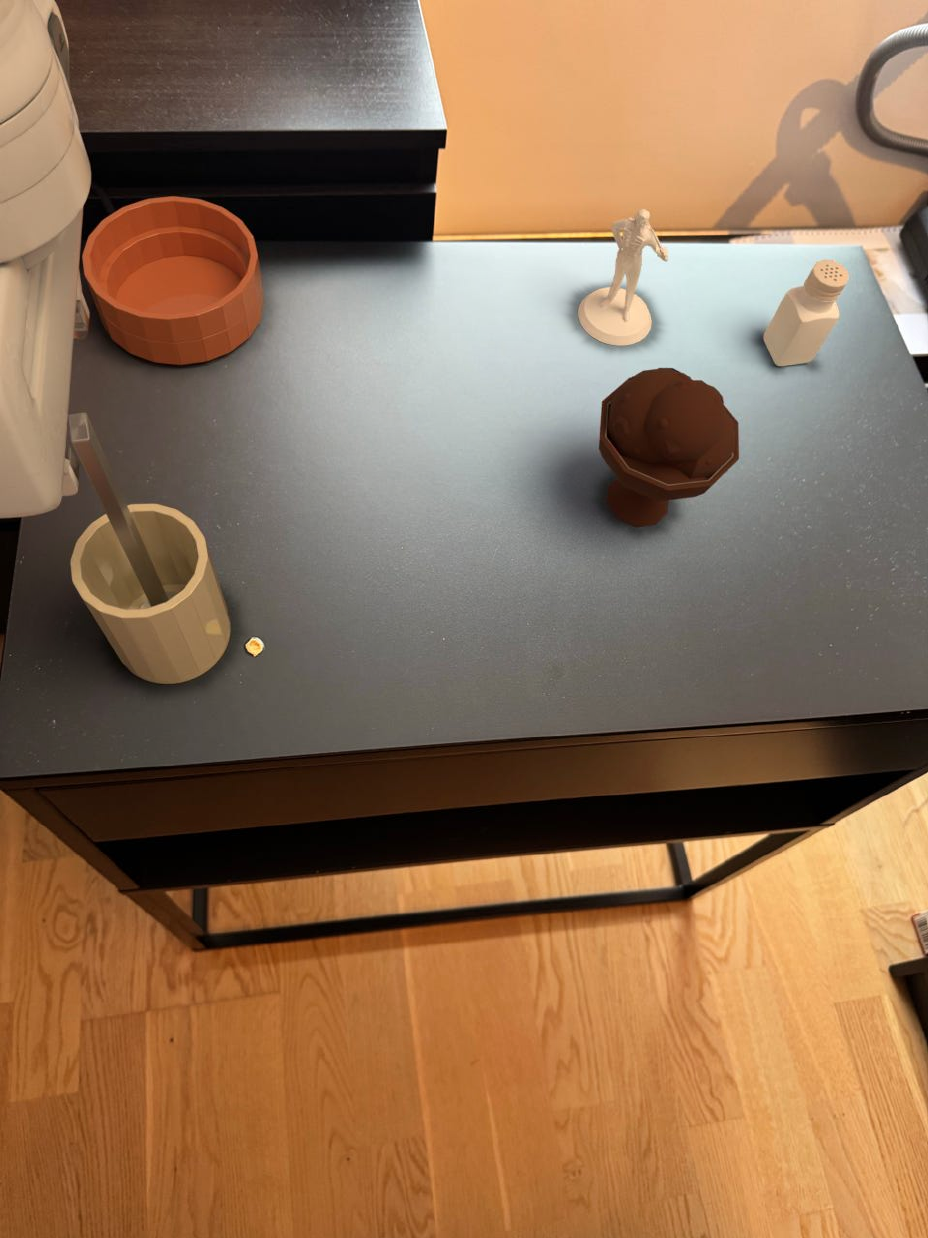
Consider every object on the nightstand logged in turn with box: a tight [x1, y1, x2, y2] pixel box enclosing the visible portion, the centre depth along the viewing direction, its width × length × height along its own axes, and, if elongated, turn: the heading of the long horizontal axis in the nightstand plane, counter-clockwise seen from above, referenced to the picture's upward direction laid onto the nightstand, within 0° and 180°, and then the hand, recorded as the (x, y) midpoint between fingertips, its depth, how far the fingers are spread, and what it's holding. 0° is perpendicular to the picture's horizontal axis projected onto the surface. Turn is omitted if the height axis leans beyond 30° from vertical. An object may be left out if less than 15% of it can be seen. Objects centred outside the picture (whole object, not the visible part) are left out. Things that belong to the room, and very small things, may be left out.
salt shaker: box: [763, 259, 850, 367], centre depth 82 cm, size 4×4×10 cm
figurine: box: [577, 208, 669, 347], centre depth 81 cm, size 7×7×12 cm
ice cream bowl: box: [598, 367, 740, 528], centre depth 70 cm, size 11×11×15 cm
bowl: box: [81, 195, 265, 366], centre depth 79 cm, size 14×14×6 cm
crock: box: [69, 503, 232, 685], centre depth 63 cm, size 8×8×11 cm
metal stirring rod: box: [68, 412, 178, 609], centre depth 56 cm, size 4×4×24 cm
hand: (67, 402), depth 44 cm, fingers open, 8 cm apart
